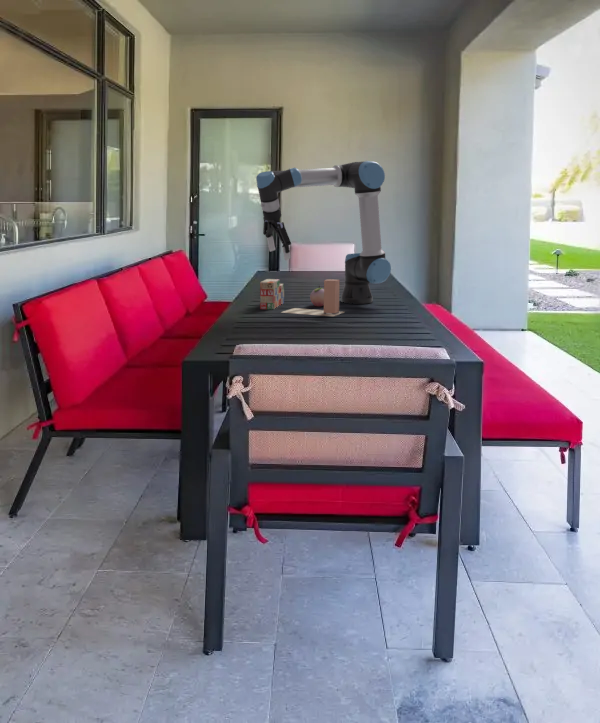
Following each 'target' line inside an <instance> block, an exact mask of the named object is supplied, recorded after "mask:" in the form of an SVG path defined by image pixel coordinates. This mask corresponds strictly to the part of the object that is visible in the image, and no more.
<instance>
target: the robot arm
mask: <svg viewBox="0 0 600 723" xmlns="http://www.w3.org/2000/svg"><path fill="white" fill-rule="evenodd" d="M385 176H386V173H385V171H384V169H383V167H382V165H381V164H380V163H378V162H376V161H371V160H365V161H353V162H349V163H345V164H344V163H343V164H336V165H334V166H332V167H325V168H324V167H322V168H308V169H307V168H306V169H305V168H304V169H298V168H296V167H292V168H288V169H286V170H270V171H268V170H267V171H262V172H259V173H258V174H257V175H256V177H255V179H256V187H257V189H258V190H257V191H258V195H259V200H260V207H261V209H262V215H263V231H262V232H263V234H262V235H263V236H265V237H266V241H267V246H268V250H269V251H268V252H273V251H276V249H277V248H276V247H275V246H276V245H275V240H274V236H273V233H275V234H277V237H278V238H279V240H280V242H281V244H282V246H281V249H282V251H283V257H284V260H285V261H288V260H290V259H292V255H291V252H290V251H291V250H290V245H292V242H291V239H290V237H289V234H288V232H287V230H286V226H285V223H284V222H280V218H281V217H282V211H281V208H280V200H279V195H278V193H281V192H283V191H286V190H289V189H292V188H305V187H306V188H307V187H321V186H322V187H324V186H325V187H326V186H334V187H336V188H349V189H354V194H355V195H356V196H357V197H358V207H359V219H360V221H359V222H360V233H361V234H360V235H361V248H362V250H361V252H355V253H347V254H346V255H345V260H344V286H343V289H342V293H341V296H340V302H341V303H343V302H344V304H352V303H353V305H354V304H357V305H360V304H362V305H363V304H371V303H373V299H374V298H373V295H372V290H371V288H370V284H382V283H384V282H386V280H388V278H389V276H390V275H391V271H392V266H391V263H390V261H389V260H388V259H386V252H385V251H384V250H383V249H382V239H381V238H382V237H381V223H380V210H379V208H380V207H379V195H380V193H382V192H381V191H382V188H381V186H382V185H383V184H384V182H385V178H386V177H385Z"/></svg>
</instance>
